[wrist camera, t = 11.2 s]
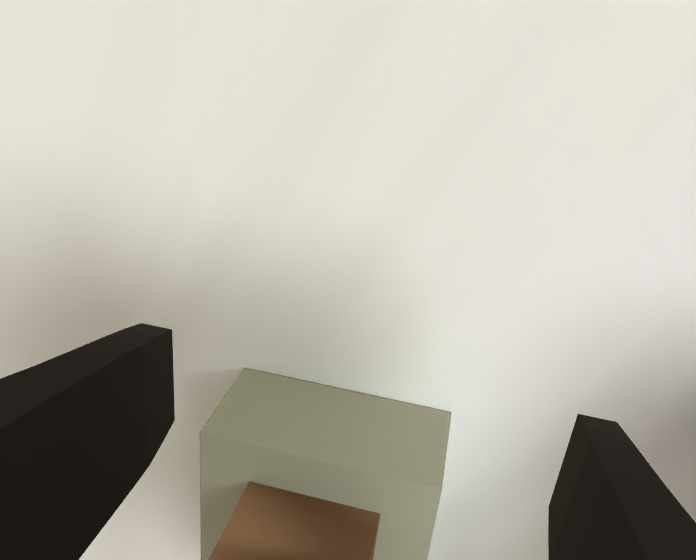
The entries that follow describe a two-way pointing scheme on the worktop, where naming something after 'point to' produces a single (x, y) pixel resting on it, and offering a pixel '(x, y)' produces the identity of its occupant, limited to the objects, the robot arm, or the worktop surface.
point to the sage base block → (326, 456)
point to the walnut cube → (295, 528)
